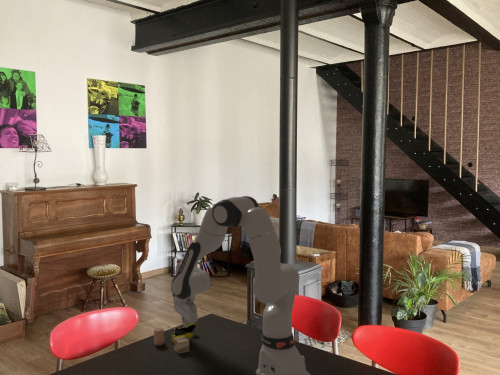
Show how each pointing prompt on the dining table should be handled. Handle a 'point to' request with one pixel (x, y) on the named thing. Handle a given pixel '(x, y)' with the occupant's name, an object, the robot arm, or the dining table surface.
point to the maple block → (181, 344)
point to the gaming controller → (184, 332)
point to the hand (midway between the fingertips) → (185, 326)
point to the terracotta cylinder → (158, 336)
